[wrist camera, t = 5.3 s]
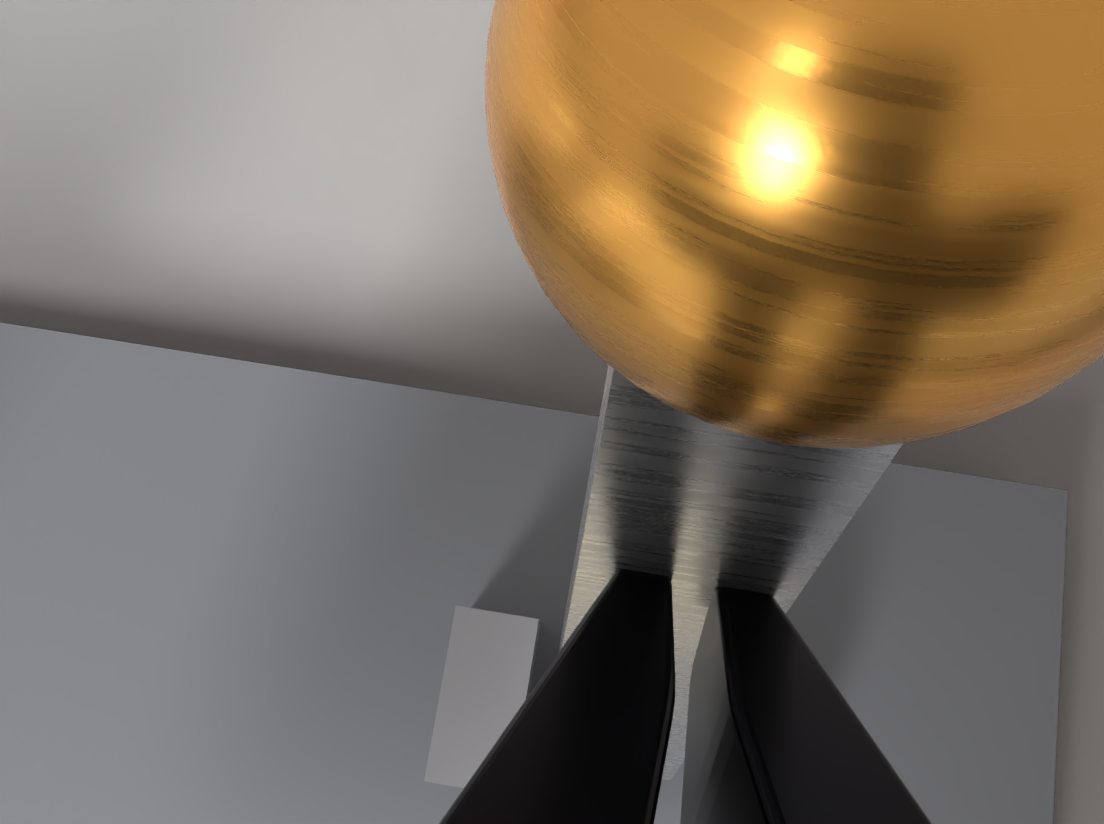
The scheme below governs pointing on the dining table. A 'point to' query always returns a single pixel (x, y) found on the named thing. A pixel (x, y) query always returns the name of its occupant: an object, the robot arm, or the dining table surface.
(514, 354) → the dining table surface
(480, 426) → the switch panel
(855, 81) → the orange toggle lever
